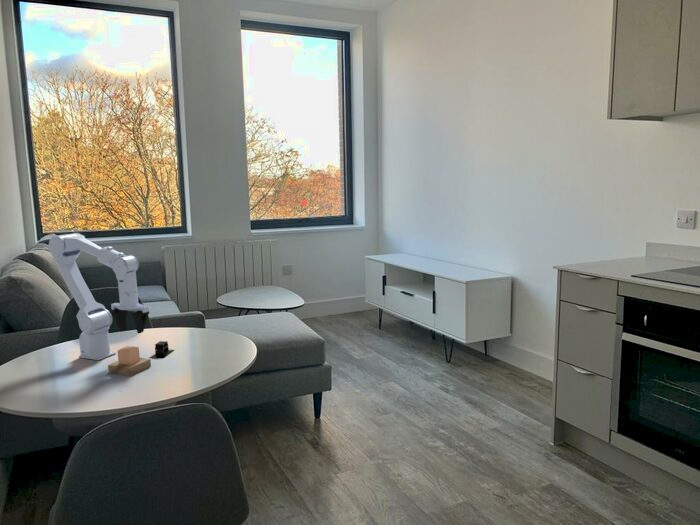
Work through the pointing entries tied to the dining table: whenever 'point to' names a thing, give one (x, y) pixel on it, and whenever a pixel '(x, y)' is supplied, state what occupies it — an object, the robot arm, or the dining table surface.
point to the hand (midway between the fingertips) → (131, 331)
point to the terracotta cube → (128, 355)
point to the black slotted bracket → (161, 350)
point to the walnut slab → (129, 367)
